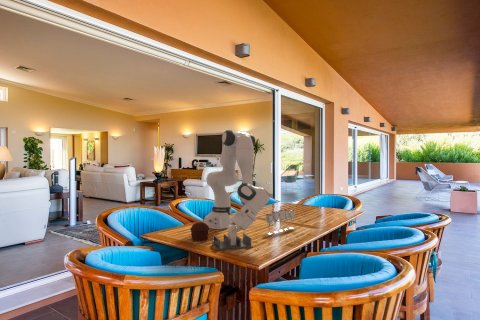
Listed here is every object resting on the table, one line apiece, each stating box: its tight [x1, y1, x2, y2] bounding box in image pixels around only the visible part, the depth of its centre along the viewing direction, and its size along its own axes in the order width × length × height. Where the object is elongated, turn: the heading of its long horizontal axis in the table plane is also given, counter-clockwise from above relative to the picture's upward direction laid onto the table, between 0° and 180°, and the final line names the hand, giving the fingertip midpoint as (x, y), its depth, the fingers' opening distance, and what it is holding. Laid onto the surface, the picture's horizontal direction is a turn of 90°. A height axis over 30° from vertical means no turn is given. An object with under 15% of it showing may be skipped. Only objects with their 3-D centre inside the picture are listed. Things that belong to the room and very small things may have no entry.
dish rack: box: [212, 232, 253, 252], centre depth 172 cm, size 19×14×5 cm
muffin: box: [190, 221, 210, 242], centre depth 184 cm, size 12×11×10 cm
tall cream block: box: [227, 225, 237, 245], centre depth 172 cm, size 3×5×10 cm, turn 17°
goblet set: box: [264, 209, 296, 235], centre depth 207 cm, size 28×6×13 cm, turn 133°
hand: (231, 231), depth 172 cm, fingers open, 8 cm apart
